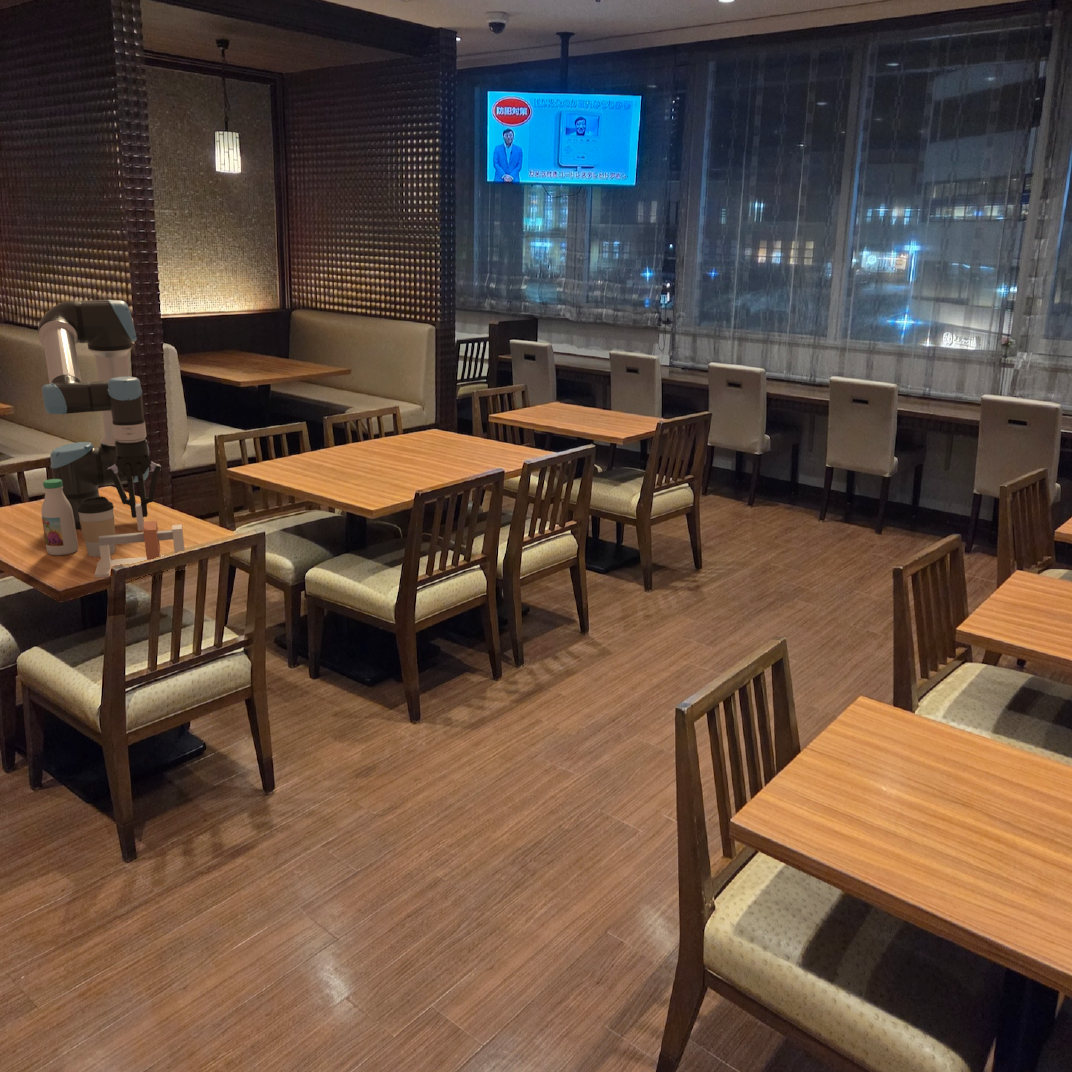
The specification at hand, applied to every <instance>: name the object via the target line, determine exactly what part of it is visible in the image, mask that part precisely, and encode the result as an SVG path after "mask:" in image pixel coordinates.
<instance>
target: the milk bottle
mask: <svg viewBox="0 0 1072 1072" xmlns="http://www.w3.org/2000/svg"><path fill="white" fill-rule="evenodd" d="M42 484H43V490H44V492H45V493H44V498H43V502H42V505H41V520H42V527H43V534H44V535H43V536H44V540H45V541H44V542H45V547H46V548H45V549H46V552H47V554H48V555H51V556H66V555H70V554H73V553H75V552H77V551H78V550H79V543H78V537H77V530H76V529H75V522H74V516H73V511H72V507H71V505H70V503H69V501H68V500H67V498H66V497H65V495H64V493H63V490H62V488H63V483H62V480H60V479H53V478H52V479H51V478H50V479H45V480H44V481H42Z"/></svg>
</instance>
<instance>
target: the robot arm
mask: <svg viewBox="0 0 1072 1072" xmlns="http://www.w3.org/2000/svg"><path fill="white" fill-rule="evenodd" d="M37 327H38V328H37V334H38V335H37V336H38V340H39V343H40V344H41V345H42V346H43V347H44V353H45V354H44V355H45V356H44V357H45V360H46V368H47V375H48V376H47V377H48V382H49V384H48V383H47V384H44V385H43V384H42V386H41V389H42V390H41V392H42V398H43V405H44V406H43V407H44V411H45V412H46V413H47V414H48V415H65V414H78V413H80V414H81V413H94V412H101V413H102V422H103V429H104V435H103V436H102V438H100V440H99V441H100V442H99V443H100V446H94V444H92V442H90V441H79V442H72V443H67V444H64V445H61V446H59V447H56V448H55V449H53V450H52V451H51V452H50V456H49V457H50V469H51V471H52V479H60V480H62V483H63V488H62V490H63V493H64V495H65V497H66V498H67V500H68V501H69V503H70V505H71V507H72V511H73V516H74V522H75V529H81V524H80V520H79V519H80V517H79V513H78V511H77V509H78V508H77V507H78V505H80V503H81V501H83V500H86V499H91V498H96V497H99V496H100V493H99V487H101V486H112V485H113V486H114V485H115V489H116V490H117V493H118V496H119V498H120V500H121V503H122V504H123V505H128V506H130V507H129V508H130V513H131V518H133V519H135V518H136V524H137V531H140V532H141V531H142V532H143V530H144V523H145V518H147V517H148V515H149V513H148V504H149V503H153V502H154V497H155V490H156V485H157V477H158V474H159V473H160V471H161V468H162V465H161V464H160V463H155V462H153V461H152V458H151V457H150V449H149V444H148V440H147V439H146V437H147V430H146V429H147V428H146V427H147V426H146V421H145V415H144V404H143V389H142V387H141V381H140V378H138V377H135V376H130V369H129V360H128V359H129V358H128V354H129V352H130V351H131V350H132V348H133V344H132V343H134V342H136V341H137V339H138V338H137V333H136V329H135V323H134V319H133V318H132V314H131V309H130V308H129V305H128V304H127V302H125V301H124V300H117V299H115V300H114V299H95V300H92V299H91V300H67V301H64V302H60V303H57V304H56V305H54V306H52V307H51V308H50V309H49V310H48V311H46V312H45V314H44V315H42V317H41V319H40V321H39V324H38V326H37ZM77 344H87V349H88V351H89V352H91V353H92V354H93V355H94V359H95V366H96V375H97V381H86V382H85V381H83V382H82V376H81V370H80V364H79V360H78V353H77V347H76V345H77ZM149 471H151V480H150V487H149V491H148V496H147V494H146V485H145V481H146V480H147V478H148V477H149ZM134 483H138V492H139V498H140V499H139V500H140V503H136V494H135V493H136V492H135V485H134ZM123 484H124V485H125V484H127V489H128V490H127V491H128V497H127V494H126V492H125V489H124V486H123Z"/></svg>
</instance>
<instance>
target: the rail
mask: <svg viewBox="0 0 1072 1072" xmlns="http://www.w3.org/2000/svg"><path fill="white" fill-rule="evenodd" d="M157 539H158V541H159V542H161V541H170V540H173V551H174V554H175V553H177V552H179V551H184V550H185V549H186V548H185V541H184V531H183V524H181V523H179V524H172V526H171V529H169V530H168V529H167V530H165V529H164V530H158V531H157ZM98 540H99V549H100V556H101V557H100V560H98V561H97V564H96V568H95V572H94V578H95V577H99V578H107V577H109V574H110V571H111V566H114V565H120V564H132V563H137V562H140V561H144V560H147V557H146V556H138V557H127V558H126V557H125V558H117V559H111V558H112V557H111V555H110V549H109V545H114V544H115V545H122V544H136V543H145V540H144V532H143V531H142V532H141V531H140V532H130V533H118V534H115V535H105V536H99V538H98ZM185 551H186V550H185ZM164 555H165V554H163V555H161V554H160V557H162V556H164ZM187 569H188V565H187V566H186V567H185V569H184V570H187ZM172 571H176V570H175V569H170V570H168V571H167V572H172Z"/></svg>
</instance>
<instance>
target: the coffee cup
mask: <svg viewBox="0 0 1072 1072" xmlns="http://www.w3.org/2000/svg"><path fill="white" fill-rule="evenodd" d="M77 508H78V509H77V511H78V513H79V517H80V519H79V520H80V524H81V528H80V529H81V531H82V532H81V533H82V537H83V540H84V543H85V548H86V551H87V555H88V556H89V557H92V558H93V557H94V558H95V557H97V558H99V557H100V558H101V556H100V549H99V540H98V538H99V536H105V535H116V529H115V528H116V527H115V514H114V508H115V506H114V502H111V501H109V499H108V498H106V497H105V496H102V495H99V497H96V498H91V499H86V500H83V501H81V503H80V505H78V507H77ZM109 549H110V556H112V555H113V554H115V553H116V544H114V545H109Z"/></svg>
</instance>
